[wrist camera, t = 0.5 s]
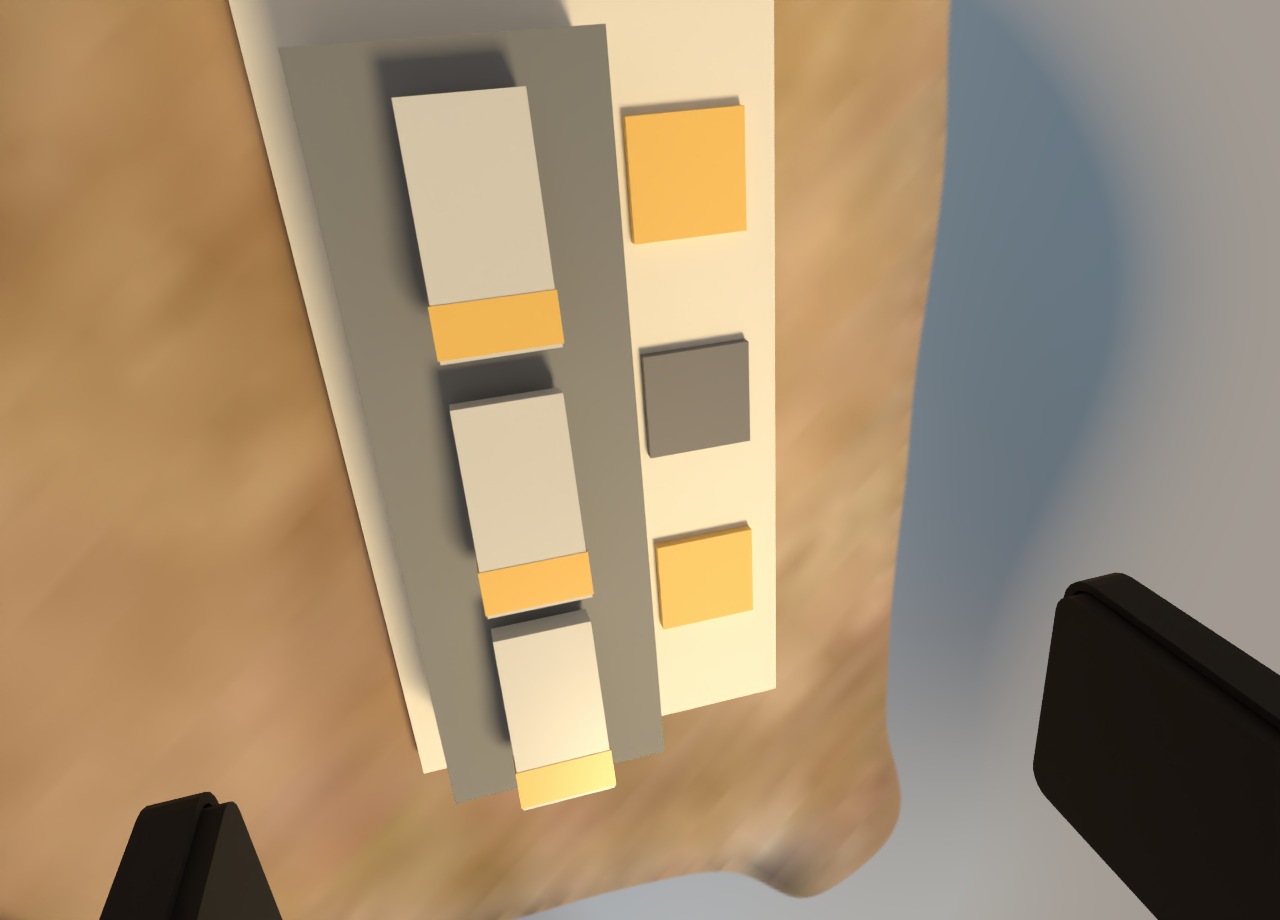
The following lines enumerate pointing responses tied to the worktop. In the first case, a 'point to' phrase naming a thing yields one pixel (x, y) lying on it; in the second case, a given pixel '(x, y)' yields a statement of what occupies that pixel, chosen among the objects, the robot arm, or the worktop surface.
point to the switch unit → (592, 328)
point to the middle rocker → (522, 501)
